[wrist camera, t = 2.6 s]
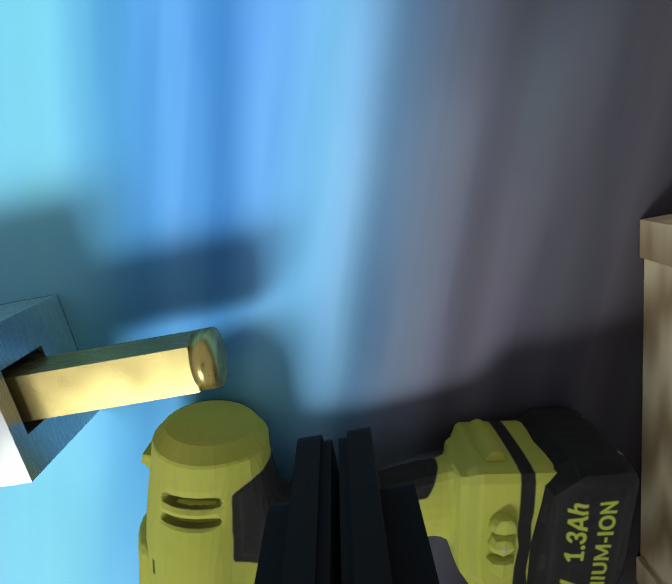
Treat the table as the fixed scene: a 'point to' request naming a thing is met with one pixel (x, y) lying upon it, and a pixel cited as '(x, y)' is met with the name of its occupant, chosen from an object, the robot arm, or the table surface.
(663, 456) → the rail
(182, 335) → the brass capped square peg
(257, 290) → the table surface
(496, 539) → the cordless drill
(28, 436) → the socket block
